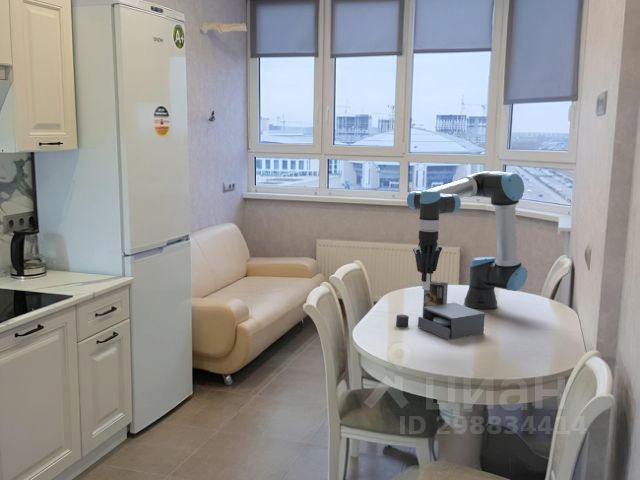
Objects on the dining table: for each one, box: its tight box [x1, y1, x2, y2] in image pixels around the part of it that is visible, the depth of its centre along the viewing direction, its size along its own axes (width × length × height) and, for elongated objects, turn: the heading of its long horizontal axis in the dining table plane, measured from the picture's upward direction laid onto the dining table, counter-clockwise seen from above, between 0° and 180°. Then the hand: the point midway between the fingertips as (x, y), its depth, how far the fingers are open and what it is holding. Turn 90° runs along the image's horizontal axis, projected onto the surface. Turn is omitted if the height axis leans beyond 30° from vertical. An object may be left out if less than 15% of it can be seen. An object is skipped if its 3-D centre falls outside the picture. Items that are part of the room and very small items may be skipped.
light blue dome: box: [433, 316, 451, 326], centre depth 247 cm, size 8×8×2 cm
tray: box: [417, 316, 451, 340], centre depth 249 cm, size 17×18×4 cm
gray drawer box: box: [422, 302, 486, 340], centre depth 250 cm, size 17×18×8 cm
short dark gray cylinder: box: [395, 314, 410, 328], centre depth 255 cm, size 5×5×4 cm
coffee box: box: [422, 280, 449, 308], centre depth 265 cm, size 9×6×16 cm
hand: (425, 289), depth 240 cm, fingers closed
